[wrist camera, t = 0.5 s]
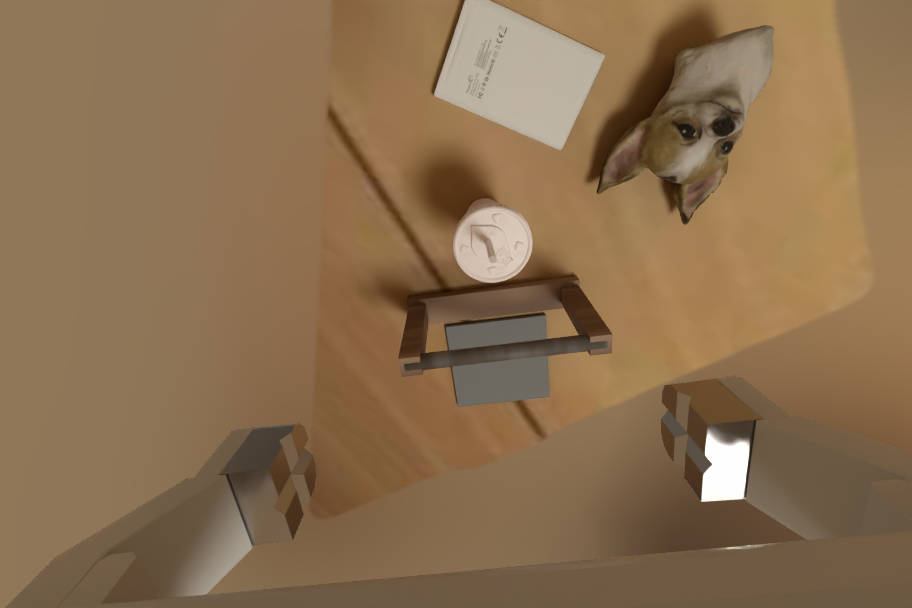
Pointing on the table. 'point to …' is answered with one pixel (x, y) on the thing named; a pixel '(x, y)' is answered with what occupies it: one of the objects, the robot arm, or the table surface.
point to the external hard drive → (517, 72)
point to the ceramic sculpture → (696, 118)
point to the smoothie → (492, 241)
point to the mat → (501, 376)
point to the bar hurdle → (499, 303)
